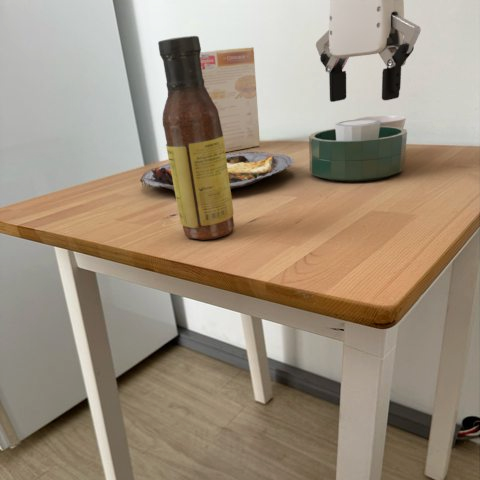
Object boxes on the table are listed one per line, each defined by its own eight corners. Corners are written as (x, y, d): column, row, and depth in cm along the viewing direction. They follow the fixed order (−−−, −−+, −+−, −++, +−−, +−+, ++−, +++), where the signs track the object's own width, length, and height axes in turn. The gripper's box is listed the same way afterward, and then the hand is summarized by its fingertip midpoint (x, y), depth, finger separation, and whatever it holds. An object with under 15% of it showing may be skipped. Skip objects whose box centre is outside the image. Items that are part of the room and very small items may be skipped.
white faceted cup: (341, 164, 80) (341, 119, 76) (382, 164, 77) (385, 118, 73) (329, 173, 74) (329, 126, 71) (373, 174, 72) (375, 124, 68)
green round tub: (349, 160, 85) (350, 124, 82) (422, 168, 75) (426, 128, 72) (291, 176, 77) (290, 137, 74) (363, 188, 67) (365, 144, 64)
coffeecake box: (245, 143, 111) (237, 48, 102) (261, 146, 106) (255, 46, 96) (187, 153, 105) (174, 53, 96) (201, 157, 100) (189, 51, 90)
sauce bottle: (240, 224, 57) (223, 34, 48) (227, 242, 52) (206, 32, 42) (189, 224, 59) (163, 40, 49) (172, 242, 54) (139, 40, 44)
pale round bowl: (353, 152, 91) (354, 117, 88) (402, 150, 88) (405, 114, 85) (349, 162, 83) (350, 123, 80) (403, 160, 81) (406, 121, 78)
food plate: (115, 196, 75) (110, 174, 74) (189, 165, 93) (187, 146, 91) (258, 203, 65) (256, 177, 63) (311, 166, 83) (310, 145, 81)
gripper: (440, -58, 58) (429, 94, 66) (333, -28, 71) (335, 97, 79) (404, -60, 54) (397, 102, 63) (298, -27, 67) (304, 104, 75)
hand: (363, 99), depth 71 cm, fingers open, 9 cm apart
